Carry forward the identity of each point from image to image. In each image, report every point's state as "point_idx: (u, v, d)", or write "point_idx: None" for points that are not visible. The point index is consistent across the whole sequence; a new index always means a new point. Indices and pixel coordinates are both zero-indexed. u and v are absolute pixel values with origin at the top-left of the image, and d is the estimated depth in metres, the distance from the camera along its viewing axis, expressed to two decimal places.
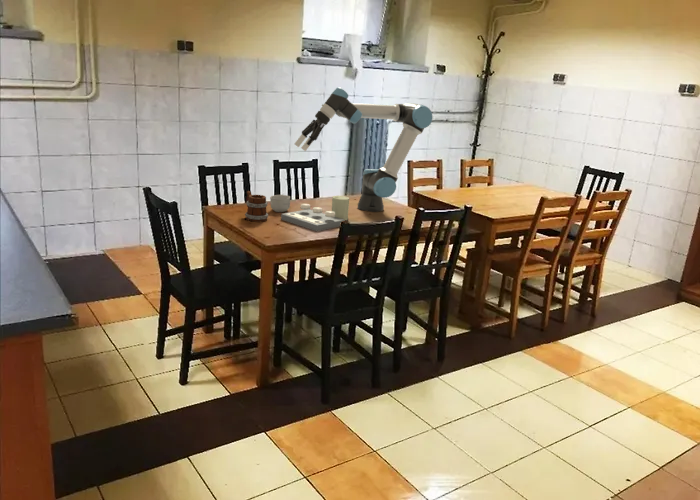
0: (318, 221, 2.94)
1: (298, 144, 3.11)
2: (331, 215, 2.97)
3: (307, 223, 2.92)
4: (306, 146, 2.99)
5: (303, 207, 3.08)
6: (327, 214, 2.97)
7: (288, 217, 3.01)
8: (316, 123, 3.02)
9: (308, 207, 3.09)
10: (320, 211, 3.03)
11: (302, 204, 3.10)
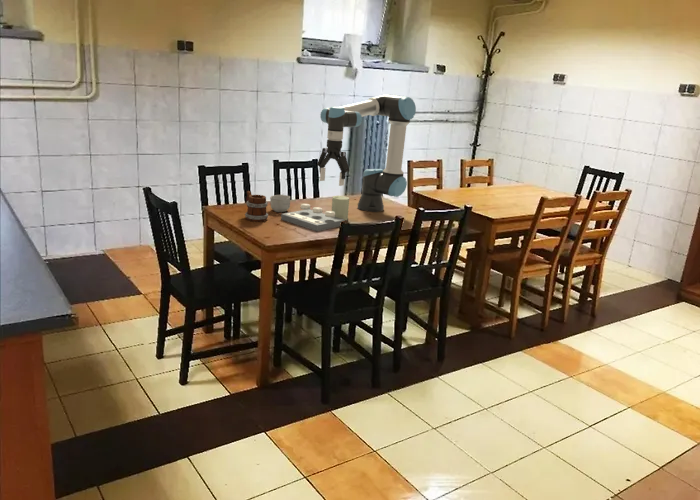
0: (318, 221, 2.94)
1: (323, 178, 2.98)
2: (331, 215, 2.97)
3: (307, 223, 2.92)
4: (342, 181, 2.90)
5: (303, 207, 3.08)
6: (327, 214, 2.97)
7: (288, 217, 3.01)
8: (335, 153, 2.88)
9: (308, 207, 3.09)
10: (320, 211, 3.03)
11: (302, 204, 3.10)
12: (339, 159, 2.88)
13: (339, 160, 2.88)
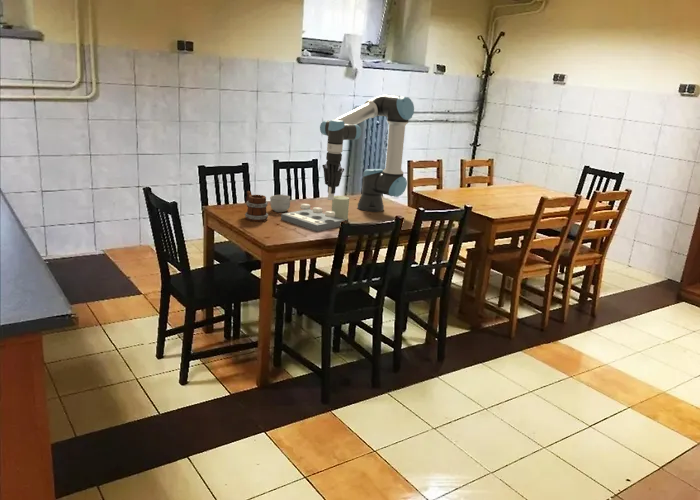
0: (318, 221, 2.94)
1: None
2: (331, 215, 2.97)
3: (307, 223, 2.92)
4: (332, 195, 2.96)
5: (303, 207, 3.08)
6: (327, 214, 2.97)
7: (288, 217, 3.01)
8: (334, 167, 2.90)
9: (308, 207, 3.09)
10: (320, 211, 3.03)
11: (302, 204, 3.10)
12: (335, 173, 2.92)
13: (334, 174, 2.92)
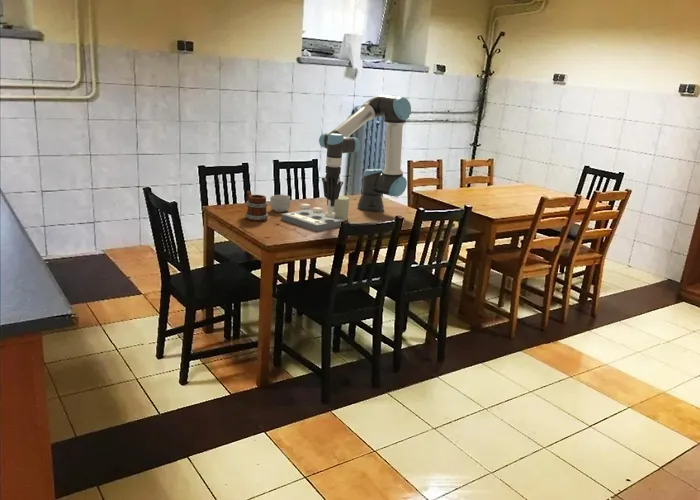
0: (318, 221, 2.94)
1: None
2: (331, 216, 2.97)
3: (307, 223, 2.92)
4: (331, 208, 2.98)
5: (303, 207, 3.08)
6: (327, 215, 2.97)
7: (288, 217, 3.01)
8: (333, 180, 2.92)
9: (308, 207, 3.09)
10: (320, 211, 3.03)
11: (302, 204, 3.10)
12: (334, 186, 2.94)
13: (334, 188, 2.94)
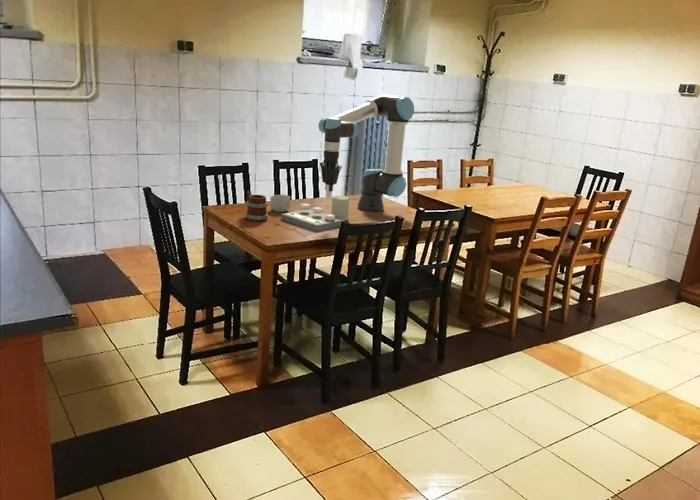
0: (318, 221, 2.94)
1: None
2: (331, 218, 2.97)
3: (307, 223, 2.92)
4: (330, 193, 2.97)
5: (303, 207, 3.08)
6: (327, 217, 2.98)
7: (288, 217, 3.01)
8: (331, 165, 2.91)
9: (308, 207, 3.09)
10: (320, 211, 3.03)
11: (302, 204, 3.10)
12: (332, 171, 2.93)
13: (332, 172, 2.93)
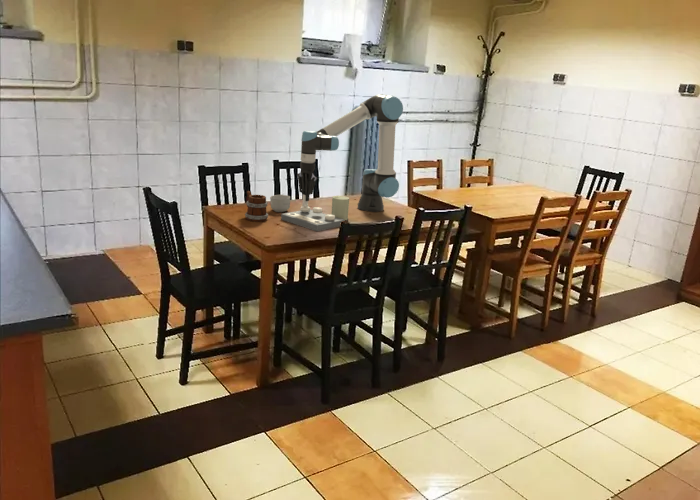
0: (318, 221, 2.94)
1: None
2: (331, 218, 2.97)
3: (307, 223, 2.92)
4: (306, 202, 3.09)
5: (303, 209, 3.08)
6: (327, 217, 2.98)
7: (288, 217, 3.01)
8: (307, 176, 3.03)
9: (308, 209, 3.09)
10: (320, 211, 3.03)
11: None
12: (309, 182, 3.05)
13: (308, 183, 3.05)
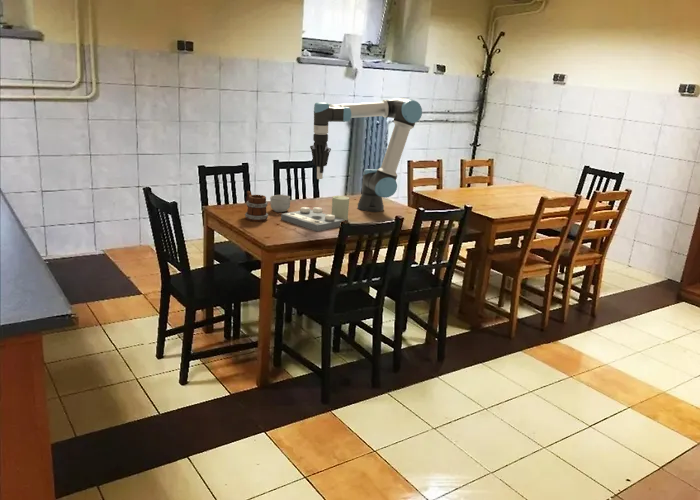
0: (318, 221, 2.94)
1: None
2: (331, 218, 2.97)
3: (307, 223, 2.92)
4: (321, 174, 3.11)
5: (303, 210, 3.09)
6: (327, 217, 2.98)
7: (288, 217, 3.01)
8: (321, 147, 3.05)
9: (308, 210, 3.09)
10: (320, 211, 3.03)
11: (302, 207, 3.11)
12: (322, 153, 3.07)
13: (322, 154, 3.07)
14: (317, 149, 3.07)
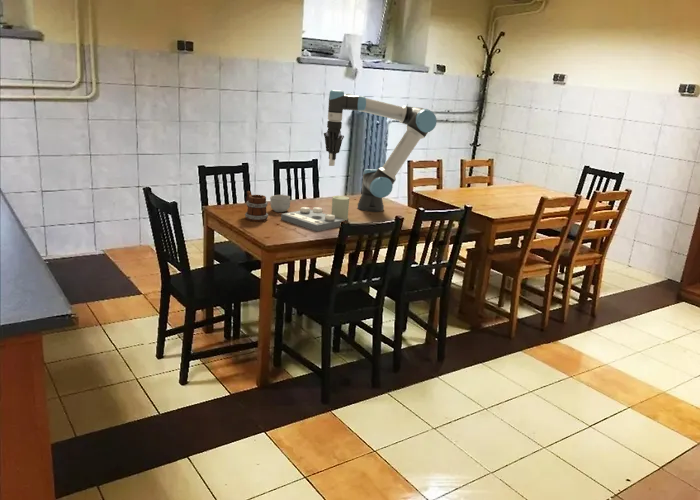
0: (318, 221, 2.94)
1: None
2: (331, 218, 2.97)
3: (307, 223, 2.92)
4: (333, 161, 3.16)
5: (303, 210, 3.09)
6: (327, 217, 2.98)
7: (288, 217, 3.01)
8: (334, 134, 3.10)
9: (308, 210, 3.09)
10: (320, 211, 3.03)
11: (302, 207, 3.11)
12: (335, 140, 3.12)
13: (335, 141, 3.12)
14: (330, 136, 3.12)
